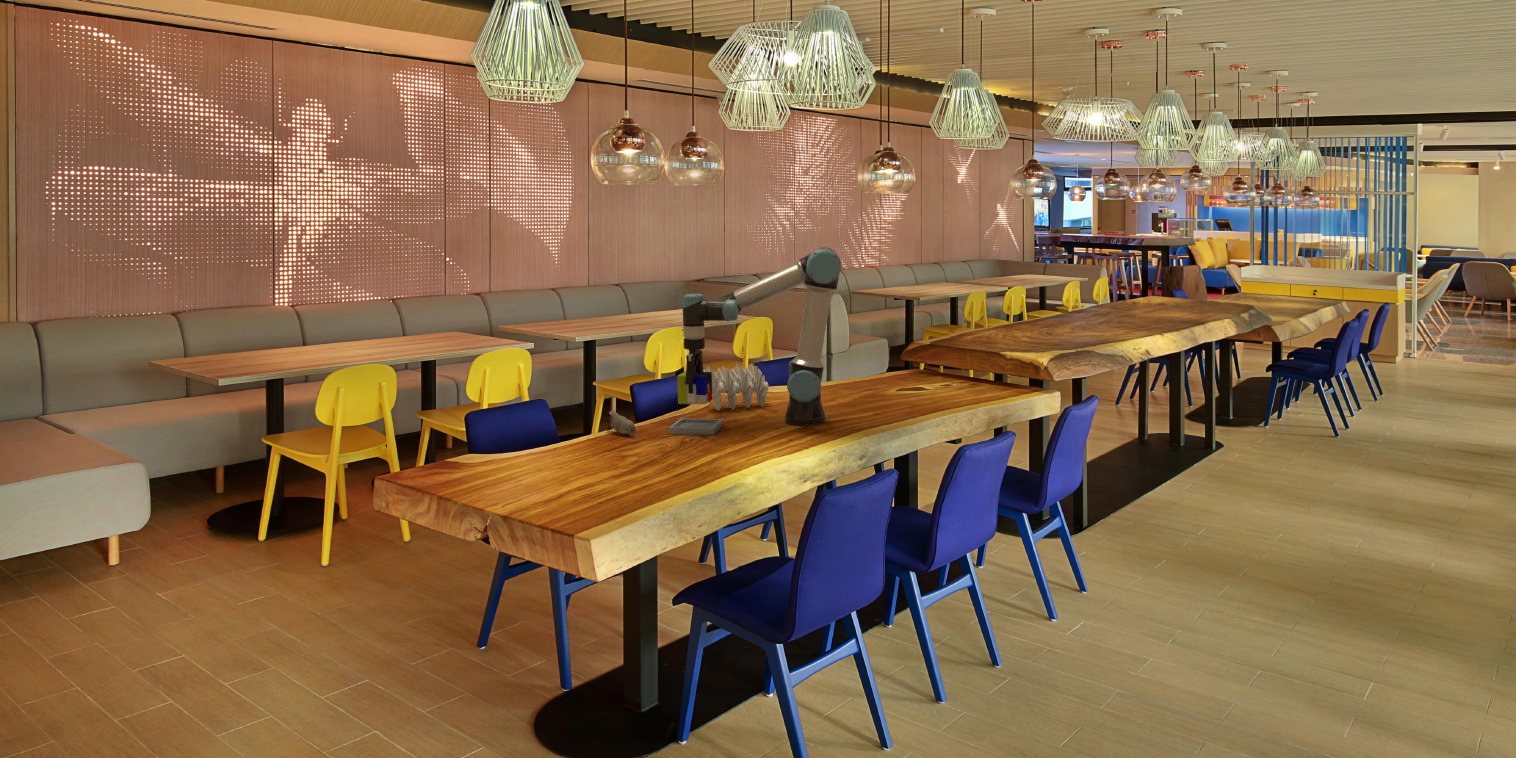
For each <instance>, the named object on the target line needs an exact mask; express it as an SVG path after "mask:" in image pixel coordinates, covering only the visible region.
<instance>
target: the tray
mask: <svg viewBox="0 0 1516 758" xmlns="http://www.w3.org/2000/svg"><path fill="white" fill-rule="evenodd" d="M723 426H724V419H723V418H689V417H688V418H687V417H686V418H684V417H681V418H679V419H677V420H676V421H675V422H674V423H673V424H672V425H670V426H669V427H668V435H692V436H693V435H695V436H702V435H703V436H714V435H716V433H717V432H718V431H719V430H721V428H723Z"/></svg>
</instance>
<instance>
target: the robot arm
mask: <svg viewBox="0 0 1516 758" xmlns="http://www.w3.org/2000/svg"><path fill="white" fill-rule="evenodd" d="M841 272H842V261H841V258H840V256H839V254H838V253H837V252H836V251H835V250H834V249H832V248H830V247H825V246H824V247H818V248H816V249H815V250H813V251H812V252H810V253H809V254H807V255H805V256H803V257H802V258H799V259H797V262H796V263H795V264H793V265H790V266H787V267H786V268H783V269H781V270H779V271H777V272H775V273H772V274H771V275H768V276H765V277H763V278H761V279H759V280H757V281H754V282H752V283H750V284H748V285H745V286H743V287H740V288H739V289H737V290H733V291H732V292H730V293H727V294H725V295H722V296H719V297H718V298H717V299H705V296H704V294H702V293H687V294H684V295H683V297H682V326H683V327H682V328H681V331H682V332H683V337H684V338H683V349H684V350H688V354H686V358H685V360H686V366H685V367H686V368H685V372H686V381H685V384H687V392H688V402H696V394H695V384H694V383H695V373H696V372H704V371H705V370H704V363H703V362H704V361H703V350H704V349H705V347H706V342H705V341H706V340H705V338H704V337H705V336H706V335H705V333H706V332H705V321H706V322H710V321H711V322H712V321H713V322H732V321H733V322H734V321H738V318H739V313H740V312H741V311H744V310H745V309H746V310H747V309H748V308H751V307H753V306H755V305H757V304H758V305H759V303H760V304H761V303H762V302H765V301H767V300H769V299H771V298H774V297H776V296H778V295H781V294H782V293H785V292H788V291H790V290H793V289H794V288H796V287H799V286H801V285H804V286H805V288H806V290H807V291H806V294H805V295H806V296H805V302H804V307H803V308H804V309H803V314H802V321H801V328H800V332H799V339H798V345H797V351H796V356H795V357H794V358H793V359H792V360H790V361H789V362H788V363H789V364H788V368H787V369H788V380H787V382H786V387H787V392H788V396H789V399H788V400H789V401H788V404H787V407H786V412H785V414H784V415H785V416H784V422H785V423H786V424H789V425H794V426H815V425H822V424H825V423H827V419H826V418H827V417H826V416H827V415H826V413H825V409H824V405H823V403H822V397H821V396H822V382H823V381H822V379H823V376H824V375H823V373H824V368H825V365H824V363H823V362H822V360H821V359H822V354H823V348H824V347H823V346H824V343H825V336H826V330H827V325H828V320H829V319H828V317H829V312H830V311H829V310H830V306H831V300H832V294H833V293H834V292H836V291H837V289H838V285H839V284H838V283H839V279H840V278H839V277H840V273H841ZM703 370H704V371H703Z"/></svg>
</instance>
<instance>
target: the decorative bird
mask: <svg viewBox="0 0 1516 758" xmlns="http://www.w3.org/2000/svg"><path fill="white" fill-rule="evenodd" d="M608 413H609V415H610V424H607V432H608V431H609V432H611V431H612V430H613V431H616V432H617V433H618V434H621V435H625V436H626V435H629V436H630V437H631V438H632V439H633V438H635V434H636V425H635V423H634V422H633V420H630V419H628V418H627V417H625V416H623V415H620V414H619V413H618V412H615V411H613V410H610V411H608ZM611 427H612V428H613V429H612V428H611Z"/></svg>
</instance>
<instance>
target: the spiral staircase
mask: <svg viewBox="0 0 1516 758" xmlns="http://www.w3.org/2000/svg"><path fill="white" fill-rule="evenodd" d="M703 371H704V372H712V401H713V402H712V404H713V405H714V410H715V411H716V410H717V411H718V412H720V410H721V408H722V405H723V404H722V403H723V396H722V394H727V399H726V402H727V403H728V409H731V411H734V410H735V409H736V407H737V401H738V396H737V393H741V395H742V401H741V402H742V403H743V404H744V409H745V408H749V409H750V406H751V404H752V402H753V401H752V399H753V393H755V394H756V396H755V397H756V398H755V401H756V402H757V403H758V404H757V405H758V407H762V408H764V407H765V404H766V403H767V393H768V391H769V383H768V381H766V379H765V378H766V377H765V375H763V373H762V371H761V369H760V368H758V365H753V363H750V364H749V367H747V366H746V367H745V368H743V366H742V365H740V366H738V363H737V364H735V366H734V368H731V369H729V368H725V366H724V365H722V367H721V368H719V367H718V368H717V371H716V372H715V370H714V369H712V368H710V367H709V366H706V369H703Z"/></svg>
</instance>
